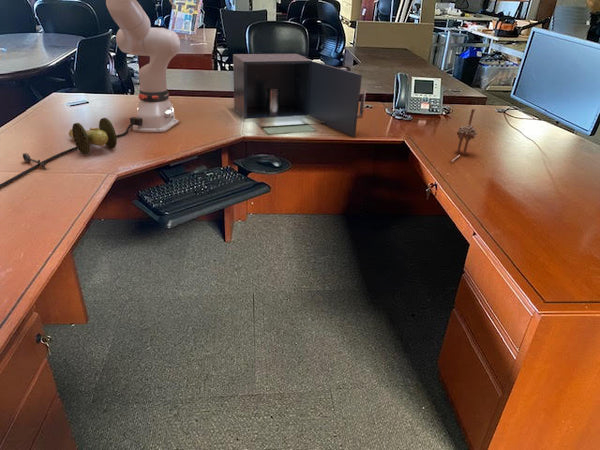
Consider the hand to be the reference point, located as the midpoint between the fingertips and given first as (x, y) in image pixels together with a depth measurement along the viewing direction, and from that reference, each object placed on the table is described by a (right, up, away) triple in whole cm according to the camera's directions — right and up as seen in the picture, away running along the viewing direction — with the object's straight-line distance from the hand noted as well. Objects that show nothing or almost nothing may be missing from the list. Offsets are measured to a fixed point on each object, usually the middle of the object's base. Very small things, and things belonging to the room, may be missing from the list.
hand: (185, 9), depth 198 cm
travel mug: (+73, -33, +40) cm, 89 cm away
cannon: (-28, -67, -31) cm, 79 cm away
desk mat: (+45, -52, +3) cm, 69 cm away
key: (-38, -76, -48) cm, 98 cm away
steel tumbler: (+38, -42, +18) cm, 59 cm away
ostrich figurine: (+115, -69, -20) cm, 136 cm away
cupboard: (+37, -41, +21) cm, 59 cm away
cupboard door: (+68, -50, +8) cm, 85 cm away
